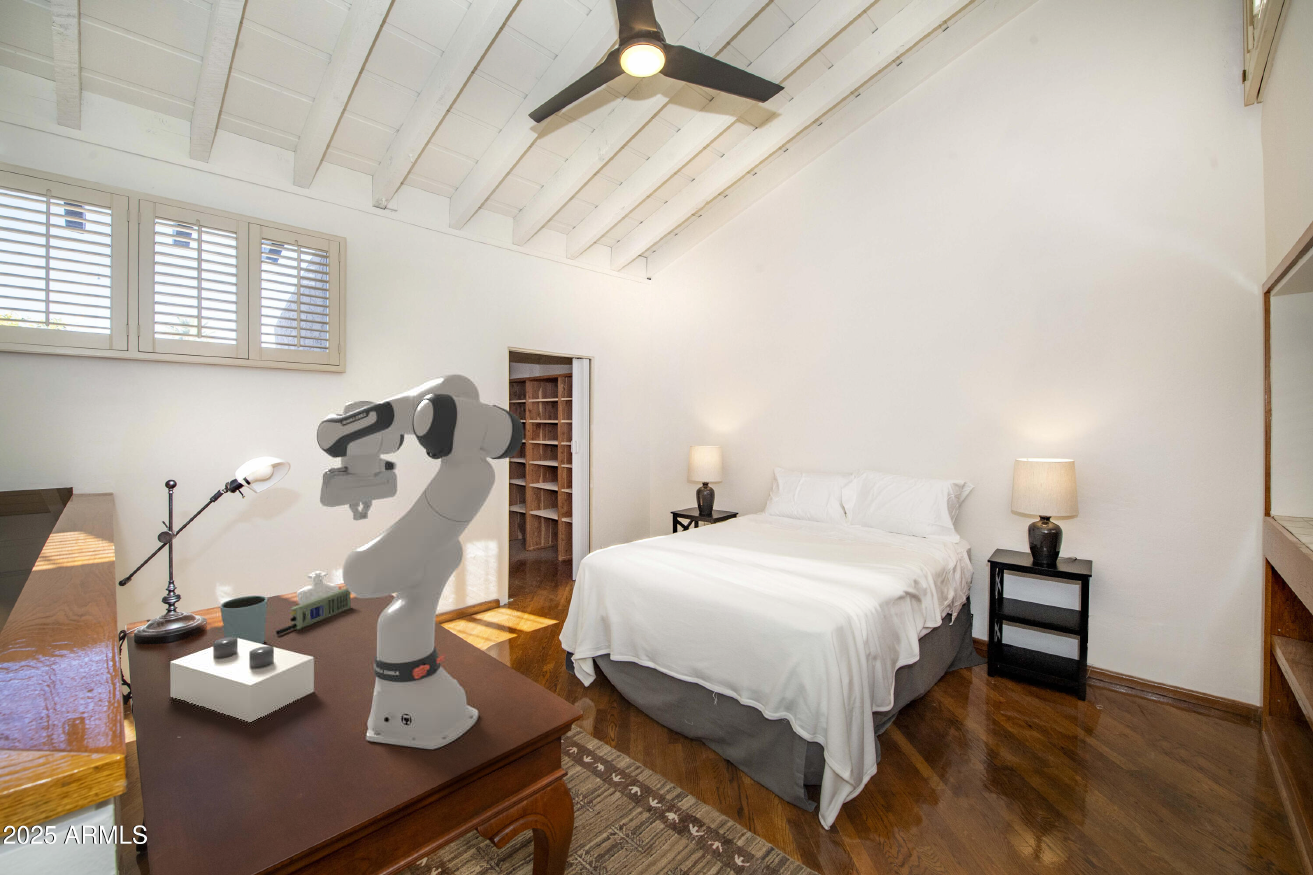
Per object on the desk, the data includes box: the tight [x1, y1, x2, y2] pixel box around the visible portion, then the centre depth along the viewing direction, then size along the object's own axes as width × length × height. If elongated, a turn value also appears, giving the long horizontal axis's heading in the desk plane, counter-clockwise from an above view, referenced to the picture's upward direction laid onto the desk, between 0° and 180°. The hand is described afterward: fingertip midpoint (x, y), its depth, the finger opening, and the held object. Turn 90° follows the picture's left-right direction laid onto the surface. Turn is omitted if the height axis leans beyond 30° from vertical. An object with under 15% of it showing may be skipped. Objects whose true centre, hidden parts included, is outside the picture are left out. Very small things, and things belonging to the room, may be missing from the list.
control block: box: [169, 638, 315, 723], centre depth 123 cm, size 26×14×8 cm, turn 70°
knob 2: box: [249, 645, 274, 669], centre depth 121 cm, size 4×4×7 cm
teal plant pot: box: [219, 595, 268, 645], centre depth 148 cm, size 10×10×12 cm
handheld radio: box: [275, 587, 352, 636], centre depth 167 cm, size 7×3×25 cm
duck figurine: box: [296, 570, 340, 605], centre depth 182 cm, size 12×8×11 cm
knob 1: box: [212, 637, 238, 658], centre depth 125 cm, size 4×4×7 cm
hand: (360, 519), depth 139 cm, fingers closed
